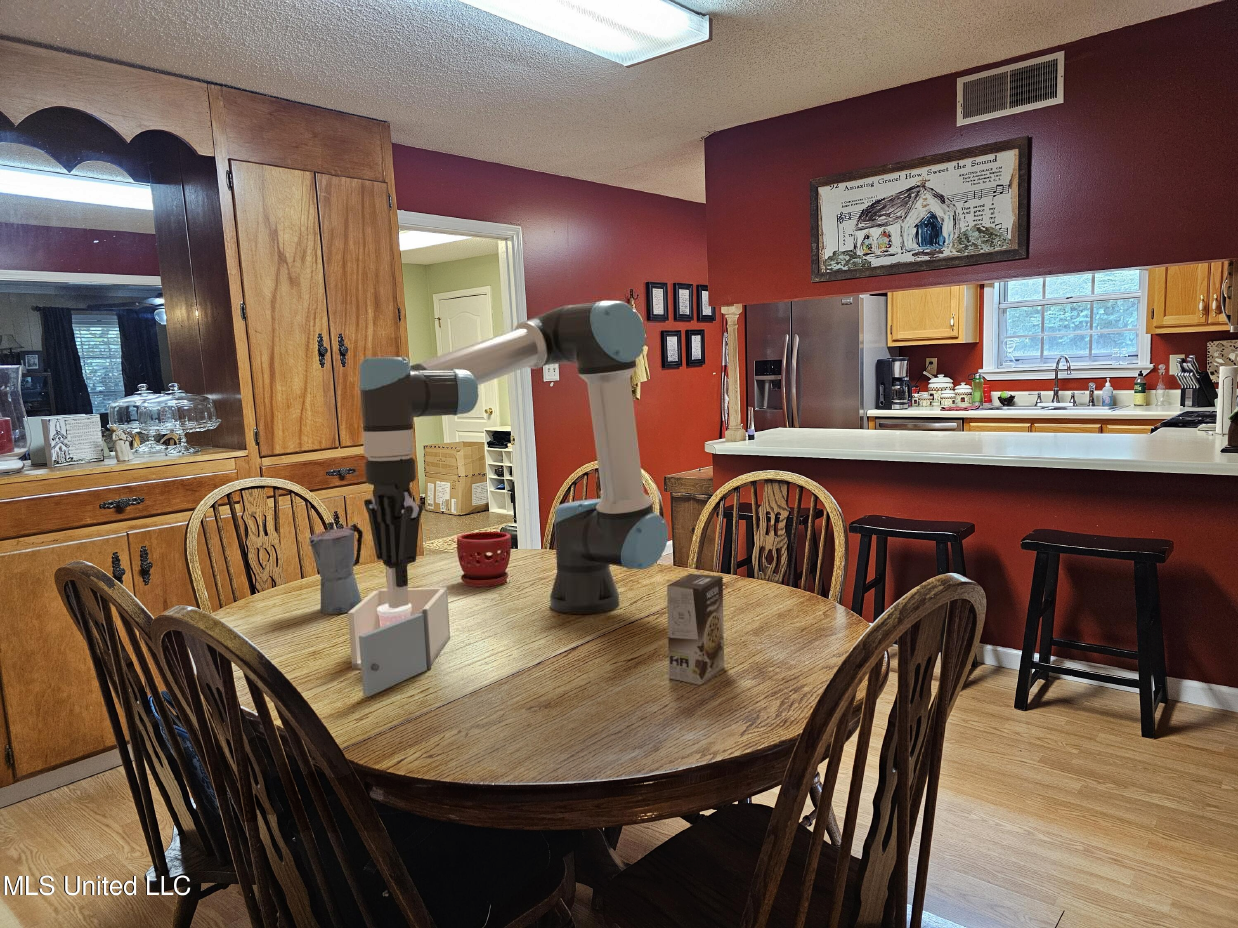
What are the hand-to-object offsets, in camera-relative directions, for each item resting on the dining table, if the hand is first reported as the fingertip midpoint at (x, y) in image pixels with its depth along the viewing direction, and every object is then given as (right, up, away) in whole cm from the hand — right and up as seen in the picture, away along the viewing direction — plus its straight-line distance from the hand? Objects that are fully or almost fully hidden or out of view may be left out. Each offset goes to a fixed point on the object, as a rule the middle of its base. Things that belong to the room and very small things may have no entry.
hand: (398, 605), depth 127 cm
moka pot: (-28, -10, +54) cm, 61 cm away
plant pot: (+2, -7, +72) cm, 72 cm away
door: (-2, -14, +8) cm, 17 cm away
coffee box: (+48, -13, +8) cm, 51 cm away
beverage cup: (-6, -13, +19) cm, 24 cm away
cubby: (-5, -13, +23) cm, 27 cm away
